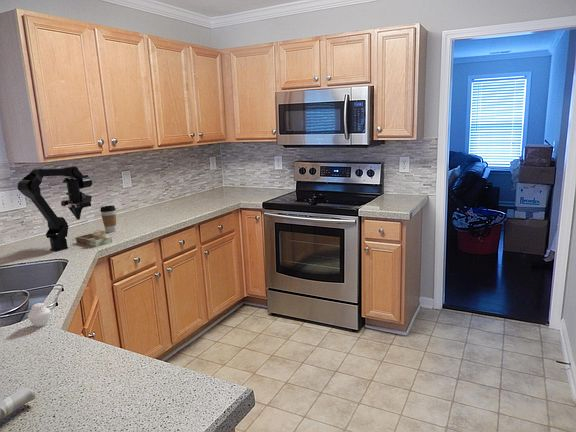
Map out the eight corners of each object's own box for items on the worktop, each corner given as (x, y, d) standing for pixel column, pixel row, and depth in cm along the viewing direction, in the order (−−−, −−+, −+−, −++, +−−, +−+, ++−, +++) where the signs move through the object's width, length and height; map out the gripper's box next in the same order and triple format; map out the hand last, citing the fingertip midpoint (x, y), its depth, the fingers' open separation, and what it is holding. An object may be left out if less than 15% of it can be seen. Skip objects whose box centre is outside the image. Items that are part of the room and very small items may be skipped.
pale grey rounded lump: (55, 319, 136) (51, 298, 135) (48, 327, 131) (44, 306, 129) (34, 321, 136) (30, 300, 134) (26, 330, 130) (21, 308, 128)
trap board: (96, 246, 219) (95, 241, 219) (76, 243, 229) (75, 237, 229) (112, 242, 227) (111, 236, 226) (92, 238, 237) (91, 233, 236)
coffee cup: (102, 233, 246) (98, 208, 243) (104, 230, 254) (100, 205, 251) (118, 232, 249) (114, 206, 245) (119, 228, 257) (115, 204, 253)
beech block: (99, 239, 221) (98, 232, 220) (94, 238, 223) (93, 231, 223) (106, 237, 224) (105, 230, 224) (101, 237, 227) (100, 229, 226)
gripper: (98, 188, 227) (102, 217, 231) (78, 187, 238) (82, 215, 241) (78, 192, 218) (83, 222, 222) (58, 190, 229) (63, 219, 232)
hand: (78, 219), depth 229 cm, fingers closed
